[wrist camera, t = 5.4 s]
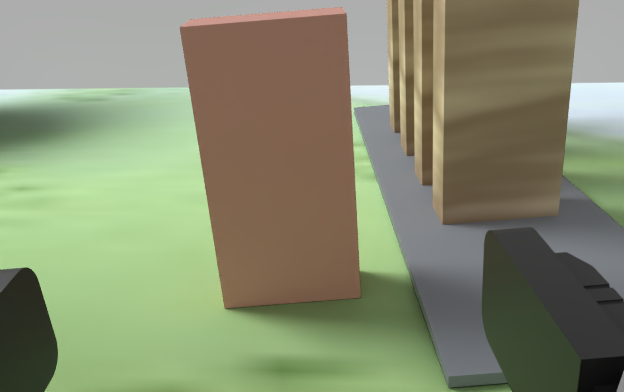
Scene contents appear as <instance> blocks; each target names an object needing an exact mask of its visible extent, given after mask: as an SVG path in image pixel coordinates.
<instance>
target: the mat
mask: <svg viewBox="0 0 624 392" xmlns="http://www.w3.org/2000/svg"><path fill="white" fill-rule="evenodd" d="M354 114H355V117H356V120H357V123H358V126H359V128H360V131H361V134H362V137H363V140H364V143H365V146H366V149H367V152H368V155H369V158H370V161H371V163H372V166H373V169H374V172H375V175H376V178H377V181H378V184H379V187H380V190H381V193H382V196H383V198H384V201H385V204H386V207H387V210H388V213H389V216H390V219H391V222H392V225H393V228H394V231H395V233H396V236H397V239H398V242H399V245H400V248H401V251H402V254H403V257H404V260H405V263H406V266H407V268H408V271H409V274H410V277H411V280H412V283H413V286H414V289H415V292H416V295H417V298H418V301H419V304H420V306H421V309H422V312H423V315H424V318H425V321H426V324H427V327H428V330H429V333H430V336H431V339H432V341H433V344H434V347H435V350H436V353H437V356H438V359H439V362H440V365H441V368H442V371H443V374H444V376H445V379H446V382H447V385H448V388H449V387H462V386H475V385H488V384H501V383H508V382H507V380H506V378H505V376H504V374H503V372H502V370H501V368H500V366H499V364H498V361H497V359H496V357H495V355H494V353H493V351H492V349H491V347H490V345H489V343H488V340H487V338H486V334H485V330H484V326H483V319H482V283H483V257H484V240H485V235H486V233H487V231H489V230H499V229H511V228H524V227H532V228H534V229H535V230H536V231H537V232H538V234H539V235H540V236H541V237H542V238H543V239H544V241H545V242H546V243H547V244H548V245H549V247H550V248H551V249H552V250H553V251H554V252H555V253H560V252H568V253H569V254H571V255H573V256H575V257H577V258H579V259H581V260H582V261H584V262H586V263H588V264H590V265H592V266H593V267H594V268H595V269H596V270H597V271H598V272H599V273H600V274H601V275H602V276H603V278H604V279H605V280H606V281H607V282H608V283H609V285H610V288H614V289H615V290H616V291H617V293H618V294H619V295H620V296H621V297H622V298H623V300H624V228H623V227H622V226H621V225H619V224H618V223H617V222H616V221H615V220H614V219H612V218H611V217H610V216H609V215H608V214H607V213H606V212H604V211H603V210H602V209H601V208H600V207H599V206H597V205H596V204H595V203H594V202H593V201H592V200H591V199H589V198H588V197H587V196H586V195H585V194H584V193H582V192H581V191H580V190H579V189H578V188H577V187H575V186H574V185H573V184H572V183H571V182H570V181H569V180H567V179H566V178H565V177H564V176H563V175H562V182H561V192H560V202H559V213H558V216H545V217H532V218H520V219H507V220H495V221H482V222H469V223H457V224H444V225H442V223H441V221H440V219H439V217H438V215H437V213H436V211H435V209H434V207H433V185H422V184H421V182H420V180H419V179H418V177H417V175H416V173H415V155H413V156H406V154H405V152H404V150H403V148H402V146H401V132H400V133H394V131H393V129H392V127H391V125H390V105H382V106H370V107H358V108H354Z"/></svg>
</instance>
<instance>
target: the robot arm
mask: <svg viewBox="0 0 624 392" xmlns="http://www.w3.org/2000/svg"><path fill="white" fill-rule="evenodd" d="M482 319H483V326H484V330H485V334H486V338H487V340H488V343H489V345H490V347H491V349H492V351H493V353H494V355H495V357H496V359H497V361H498V364H499V366H500V368H501V370H502V372H503V374H504V376H505V378H506V380H507V382H508V384H509V386H510V388H511V390H512V392H624V300H623V298H622V297H621V296H620V295H619V294H618V293H617V291H616V290H615V289H614V288H610V285H609V283H608V282H607V281H606V280H605V279H604V278H603V276H602V275H601V274H600V273H599V272H598V271H597V270H596V269H595V268H594V267H593V266H592V265H590V264H588V263H586V262H584V261H582V260H581V259H579V258H577V257H575V256H573V255H571V254H569V253H568V252H560V253H555V252H554V251H553V250H552V249H551V248H550V247H549V245H548V244H547V243H546V242H545V241H544V239H543V238H542V237H541V236H540V235H539V234H538V232H537V231H536V230H535V229H534V228H532V227H524V228H511V229H499V230H489V231H487V233H486V235H485V240H484V257H483V283H482ZM57 358H58V348H57V341H56V337H55V334H54V331H53V327H52V324H51V321H50V317H49V314H48V311H47V308H46V304H45V301H44V298H43V294H42V291H41V288H40V284H39V281H38V279H37V276H36V274H35V273H34V272H33V271H32V270H31V269H29V268H15V269H3V270H0V392H44V391H45V389H46V388H47V386H48V384H49V382H50V381H51V379H52V377H53V375H54V372H55V369H56V365H57Z"/></svg>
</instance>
